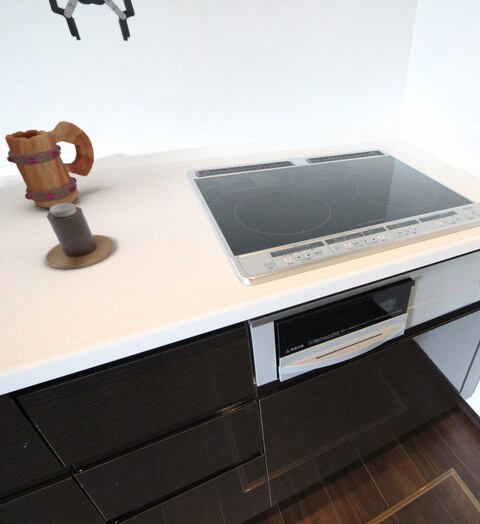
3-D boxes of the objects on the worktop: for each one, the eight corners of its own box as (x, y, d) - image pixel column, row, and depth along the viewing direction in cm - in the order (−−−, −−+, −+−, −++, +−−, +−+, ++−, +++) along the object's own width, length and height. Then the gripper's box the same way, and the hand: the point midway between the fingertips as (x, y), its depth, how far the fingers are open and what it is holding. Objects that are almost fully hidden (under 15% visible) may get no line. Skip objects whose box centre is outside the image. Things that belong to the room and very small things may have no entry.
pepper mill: (65, 260, 59) (43, 216, 54) (64, 246, 62) (44, 204, 57) (98, 252, 61) (79, 210, 56) (96, 239, 64) (78, 198, 59)
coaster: (47, 275, 56) (45, 272, 56) (48, 246, 63) (46, 243, 62) (117, 258, 61) (116, 256, 60) (111, 232, 67) (110, 230, 67)
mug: (42, 217, 70) (4, 139, 62) (22, 205, 74) (-17, 130, 65) (116, 192, 81) (92, 122, 72) (95, 183, 84) (70, 115, 75)
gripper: (22, -71, 61) (62, 41, 70) (119, -59, 67) (143, 42, 77) (25, -67, 66) (62, 38, 75) (114, -56, 73) (138, 39, 82)
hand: (103, 40), depth 76 cm, fingers open, 8 cm apart
